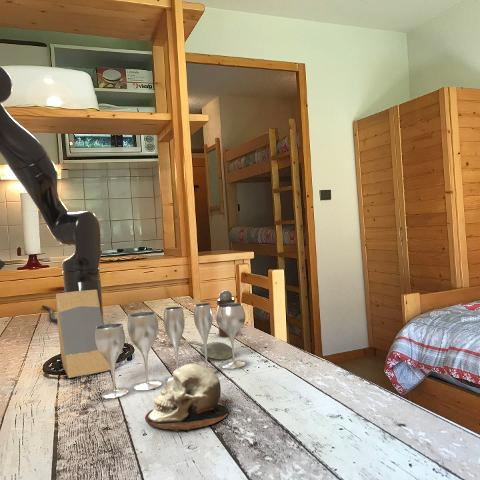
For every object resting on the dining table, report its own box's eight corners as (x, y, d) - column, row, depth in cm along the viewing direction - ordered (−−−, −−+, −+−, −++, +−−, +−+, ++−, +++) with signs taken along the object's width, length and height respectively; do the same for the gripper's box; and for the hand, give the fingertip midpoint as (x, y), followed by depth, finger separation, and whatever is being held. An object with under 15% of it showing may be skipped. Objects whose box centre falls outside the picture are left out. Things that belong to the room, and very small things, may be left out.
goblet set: (104, 402, 86) (98, 323, 85) (96, 393, 90) (90, 318, 90) (253, 364, 102) (249, 298, 101) (240, 359, 107) (236, 295, 106)
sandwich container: (67, 378, 100) (60, 302, 99) (60, 361, 113) (54, 293, 112) (114, 369, 104) (108, 296, 103) (102, 354, 117) (97, 288, 117)
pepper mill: (217, 334, 131) (214, 290, 130) (235, 331, 132) (232, 288, 132) (221, 337, 127) (217, 292, 126) (238, 335, 128) (235, 290, 128)
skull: (151, 436, 68) (139, 367, 74) (149, 463, 75) (138, 398, 81) (239, 413, 73) (221, 350, 79) (229, 440, 81) (214, 381, 86)
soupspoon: (213, 366, 105) (239, 359, 110) (213, 349, 105) (239, 344, 109) (160, 346, 120) (185, 341, 125) (160, 332, 120) (185, 327, 125)
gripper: (-77, 193, 92) (8, 256, 97) (-54, 196, 104) (21, 252, 110) (-111, 224, 90) (-22, 287, 95) (-83, 224, 103) (-6, 279, 108)
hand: (0, 268), depth 102 cm, fingers closed
